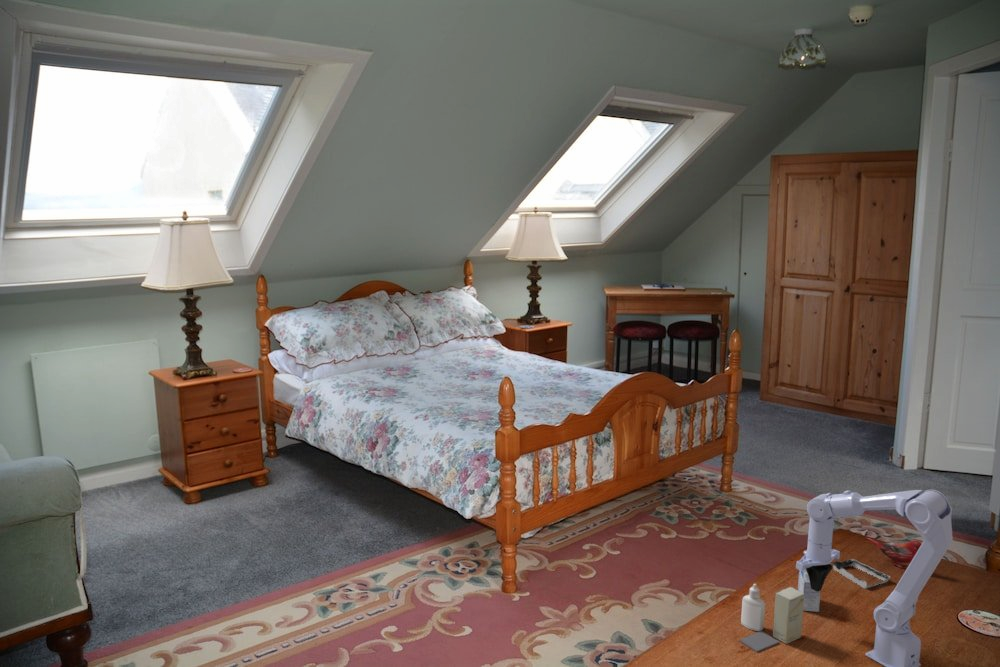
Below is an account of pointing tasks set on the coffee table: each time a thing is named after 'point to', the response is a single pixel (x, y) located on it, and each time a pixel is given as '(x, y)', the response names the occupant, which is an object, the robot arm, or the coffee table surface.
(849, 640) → the coffee table surface
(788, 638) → the skincare box
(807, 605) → the medicine box
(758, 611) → the eye dropper bottle
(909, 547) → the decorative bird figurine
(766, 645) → the mat
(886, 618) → the robot arm
